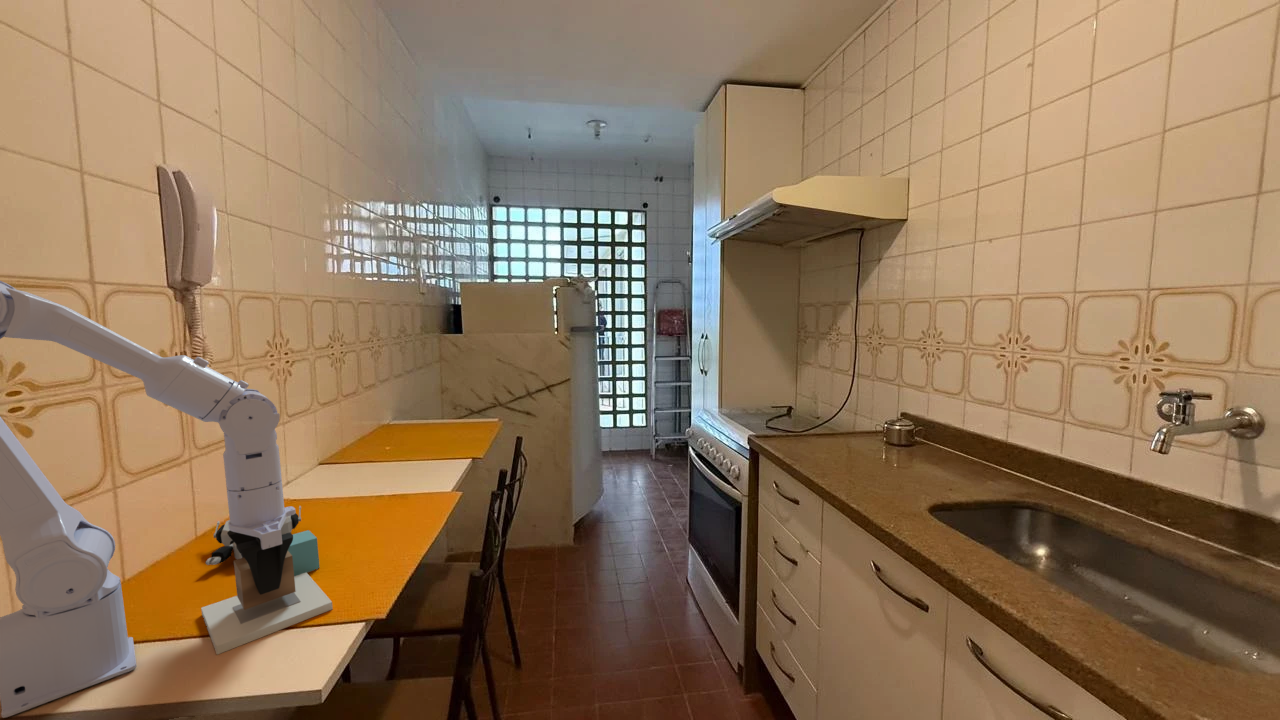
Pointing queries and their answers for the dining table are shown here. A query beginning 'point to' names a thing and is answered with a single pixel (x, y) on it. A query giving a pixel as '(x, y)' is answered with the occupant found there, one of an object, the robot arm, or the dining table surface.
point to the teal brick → (304, 552)
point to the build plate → (263, 615)
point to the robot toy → (226, 551)
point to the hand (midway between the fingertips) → (264, 583)
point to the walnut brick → (247, 586)
